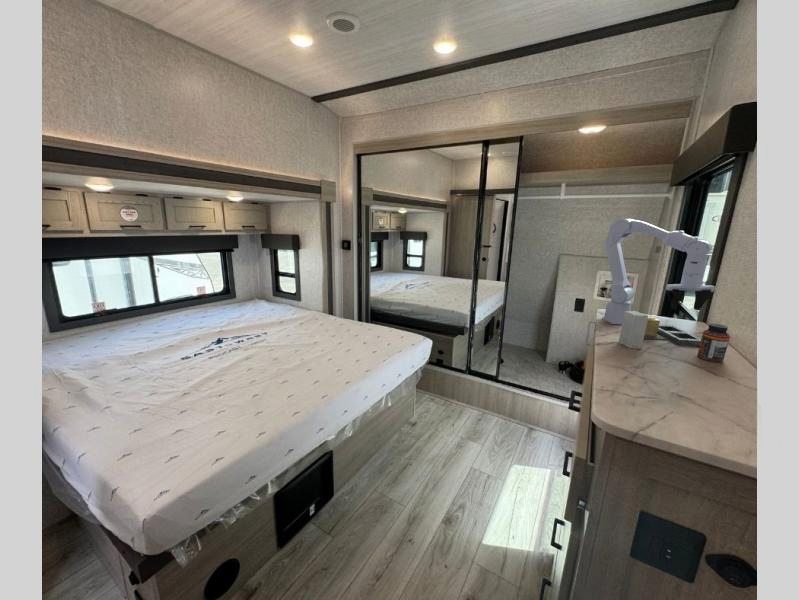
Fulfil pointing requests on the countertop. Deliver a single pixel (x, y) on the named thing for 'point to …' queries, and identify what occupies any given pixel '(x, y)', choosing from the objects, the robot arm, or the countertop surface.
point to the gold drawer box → (652, 327)
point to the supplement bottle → (714, 343)
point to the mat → (655, 337)
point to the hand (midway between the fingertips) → (685, 309)
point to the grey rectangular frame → (678, 335)
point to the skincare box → (633, 329)
